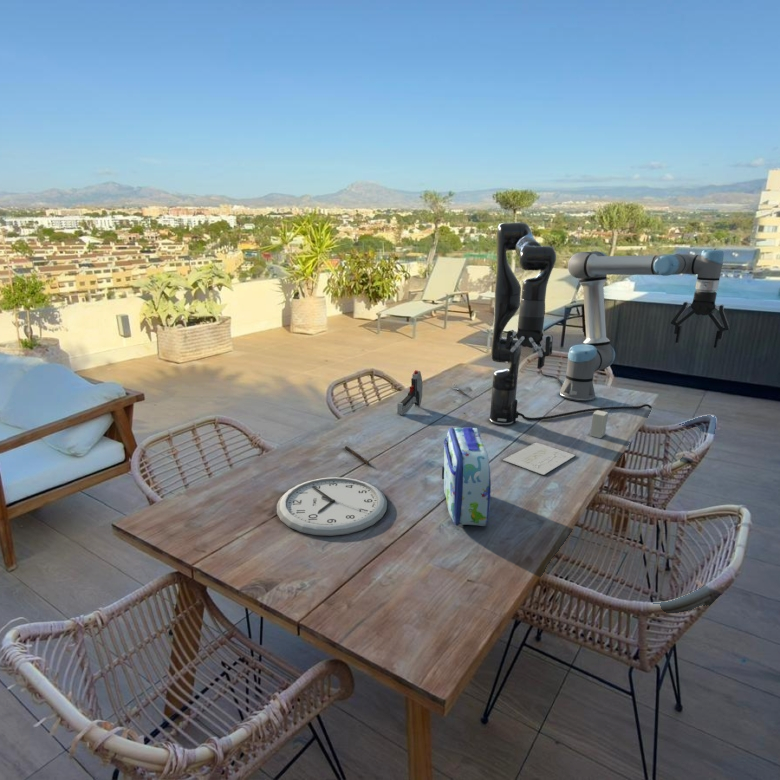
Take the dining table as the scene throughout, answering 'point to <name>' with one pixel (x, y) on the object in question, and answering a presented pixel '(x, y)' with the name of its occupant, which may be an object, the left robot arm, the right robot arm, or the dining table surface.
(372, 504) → the wall clock
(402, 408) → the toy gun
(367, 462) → the brown stick
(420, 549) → the dining table surface
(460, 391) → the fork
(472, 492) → the lunch box
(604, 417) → the brick
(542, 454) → the invitation card
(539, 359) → the left robot arm
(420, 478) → the dining table surface
